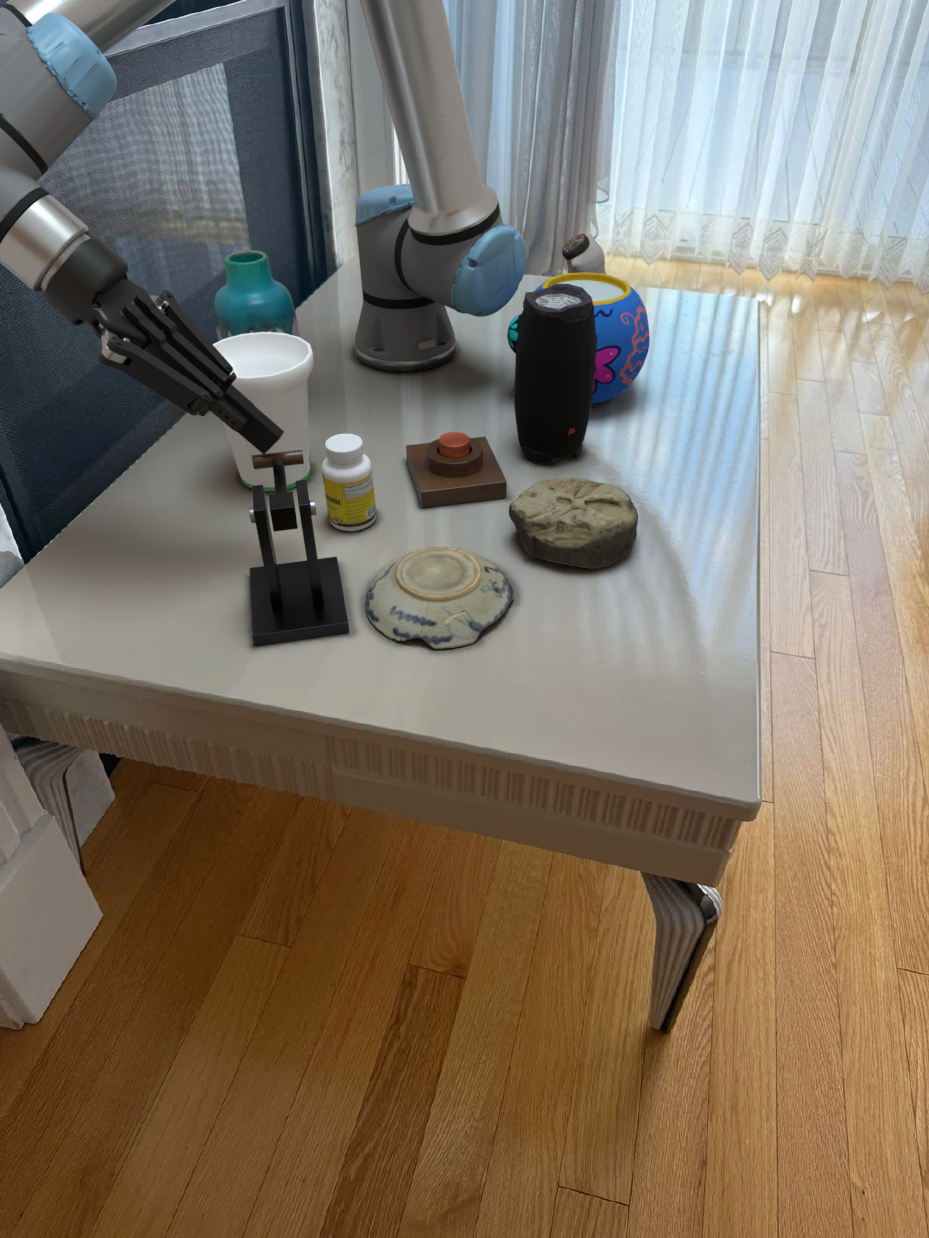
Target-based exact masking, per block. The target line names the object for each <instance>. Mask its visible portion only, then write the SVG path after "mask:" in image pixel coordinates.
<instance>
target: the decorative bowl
mask: <svg viewBox="0 0 929 1238" xmlns="http://www.w3.org/2000/svg"><path fill="white" fill-rule="evenodd" d="M514 593H515V592H514V589H513V586H512V583H511V582H510V580H509V578H508V577H506V575H505V573H504V572H502V571H501V570H500V569H499V568H498V567H497V566H496V565H495V564H494V563H492V562H491V561H489V560H488V559H487V558H486V557H484V556H481V555H480V554H478V553H476V552H473V551H471V550H467V549H462V548H458V547H453V546H452V547H451V546H429V547H425V548H420V549H417V550H414V551H409V552H407V553H404V554H402V555H400V556H398V557H396V558H394V559H393V560H391V561H390V562H388V563H387V564H386V565H385V566H383V568H381V570H380V571H378V573H377V574H376V576H375V577H374V579H373V581H372V583H371V584H370V585H369V587H368V589H367V592H366V595H365V601H364V607H365V611H366V612H365V613H366V614H367V618H368V619H369V622H370V623H371V624H372V625H373V626H374V627H375V629H377V630H378V631H379V632H382V634H383V635H384V636H386V637H388V638H389V639H390V640H395V641H397V642H400V641H402V642H405V641H408V640H409V641H410V640H413V639H414V640H415V639H421V640H422V641H424V642H425V644H427V645H428V646H429V647H431V648H432V649H434V650H443V649H454V648H458V647H464V646H469V645H472V644H474V643H475V642H477V640H478V638H479V636H480V635H481V633H482V632H484V630H486V629H487V628H488V627H490V626H491V625H493V624H495V623H496V622H497V621H498V620H499V619H500V618H501V617H502V616H504V614H505V613H506V612H507V610H508V608H509V606H510V604H511V603H512V602H513V601H514V600H515V594H514Z"/></svg>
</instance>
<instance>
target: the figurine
mask: <svg viewBox="0 0 929 1238" xmlns="http://www.w3.org/2000/svg"><path fill="white" fill-rule="evenodd" d="M561 254H562V256H563V258H564V259H565V261H566V264H567V274H568V273H581V272H586V273H600V274H606V275H608V274H607V272H606V258H605V253H604V250H603V248H602V247H601V245H600V244H599V243H598V242H597V241H596V239H595V237H594V236H593V235H592V234H591V233H585V234H584V233H578V234H576V235H574V236H572V237H571V238H570V239H569V240H567V241H566V242H565V244H564V245H563V246H562V249H561Z"/></svg>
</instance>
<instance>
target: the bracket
mask: <svg viewBox="0 0 929 1238" xmlns="http://www.w3.org/2000/svg"><path fill="white" fill-rule="evenodd" d="M295 488H296V496H297V504H298V511H299V518H300V524H301V531H302V537H303V544H304V550H305V556H306V560H298V561H292V562H284V563H278V562H277V561H278V560H277V557H276V556H277V555H276V551H275V550H276V549H275V545H274V539H273V534H272V527H271V522H270V517H269V512H268V505H267V501H266V500H267V499H266V495H265V491H264V489H263V485H255V486H252V488H251V494H252V495H251V496H252V507H249V508H248V513H249V519H250V523H251V524H255V528H256V532H257V538H258V543H259V548H260V549H259V550H260V554H261V558H262V564H263V565H260V566H251V567H249V584H250V585H249V588H250V589H249V590H250V611H251V631H252V633H251V634H252V635H251V636H252V640H253V646H255V647H258V646H265V645H273V644H278V643H285V642H293V641H300V640H307V639H313V638H320V637H327V636H328V637H329V636H335V635H342V634H349V633H350V625H349V619H348V613H347V607H346V602H345V597H344V589H343V584H342V578H341V573H340V572H341V571H340V567H339V561H338V557H337V556H329V557H321V558H318V552H317V545H316V544H317V543H316V538H315V530H314V523H313V517H312V516H317V505H316V500H315V499H310V496H309V489H308V481H307V480H299V481H296V487H295Z"/></svg>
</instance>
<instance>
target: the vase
mask: <svg viewBox="0 0 929 1238" xmlns="http://www.w3.org/2000/svg"><path fill="white" fill-rule="evenodd" d="M269 261H270V260H269V257H268V255H267V254H266V253H265V252H264V251H261V250H255V249H251V250H250V249H246V250H245V249H244V250H238V251H234V252H231V253H228V254H227V255H226V256H225V257H224V268H225V279H226V281H225V284H224V285H223V286H222V287H220V288H219V289H218V290H217V292H216V294H215V296H214V301H213V303H214V304H213V313H214V315H213V316H214V324H215V330H216V336H217V342H219V341H221V340H223V339H226V338H229V337H233V336H237V335H240V334H247V333H257V332H275V333H285V334H289V335H293V336H297V337H300V330H299V324H298V319H297V313H296V307H295V305H294V301H293V298H292V295H291V293H290V291H289V289H288V288H287V287H286V285H284V284H283V283H282V282H279V281H277V280H275V279H274V277H273V275H272V271H271V265H270V262H269Z"/></svg>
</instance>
